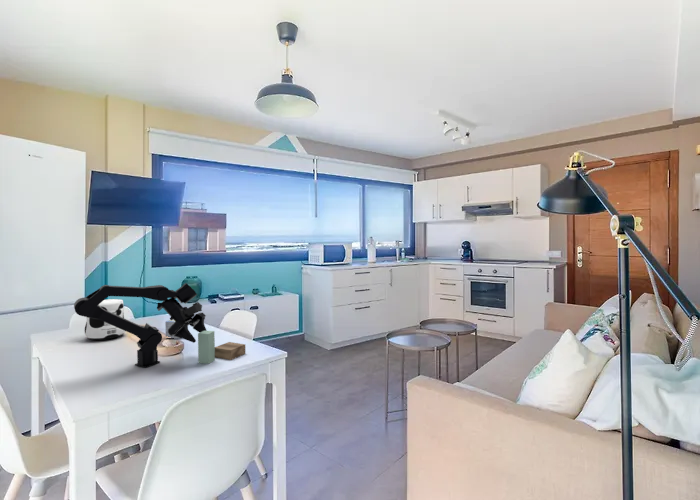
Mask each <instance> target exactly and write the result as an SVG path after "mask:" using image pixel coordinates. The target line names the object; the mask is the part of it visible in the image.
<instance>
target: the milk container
mask: <svg viewBox="0 0 700 500" xmlns="http://www.w3.org/2000/svg"><path fill="white" fill-rule="evenodd" d="M124 305H125V304H124V300H123V299H119V298H118V299H117V298H114V299H113V298H111V299H107V298H106V299H105V300H103V301H102V302H101V303H100V304H99V306H100V307H102V308H103V309H105V310H107V311H109V312H111V313H113V314H115V315H118V316H120V317H122V318H124V319H125V316H124V314H125V312H124V310H125V308H124ZM125 333H126V331H124V330H122V329H120V328H117V327H115V326H113V325H111V324H108V323H106V322H104V321H101V320H99V319H93V318H88V317H86V321H85V325H84V335H85V338H86V339H88V340H93V341H103V340H111V339H115V338H118V337H120V336H123V335H124V334H125Z"/></svg>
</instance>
